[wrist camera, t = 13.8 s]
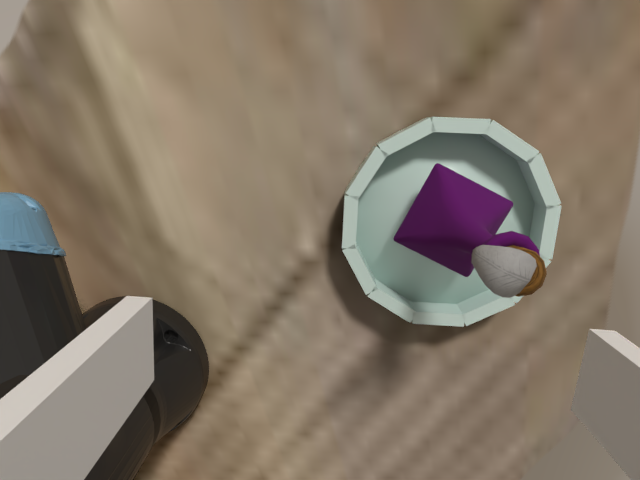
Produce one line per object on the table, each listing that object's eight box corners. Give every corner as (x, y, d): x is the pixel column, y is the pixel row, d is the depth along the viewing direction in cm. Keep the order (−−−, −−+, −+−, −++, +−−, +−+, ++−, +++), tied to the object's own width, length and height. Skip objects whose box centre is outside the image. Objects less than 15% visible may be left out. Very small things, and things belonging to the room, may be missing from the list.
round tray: (338, 304, 45) (338, 319, 42) (348, 114, 40) (349, 113, 37) (524, 315, 44) (539, 331, 41) (556, 123, 40) (576, 122, 36)
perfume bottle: (501, 197, 41) (621, 249, 23) (458, 267, 42) (539, 364, 25) (429, 159, 40) (495, 183, 23) (388, 231, 42) (421, 306, 24)
